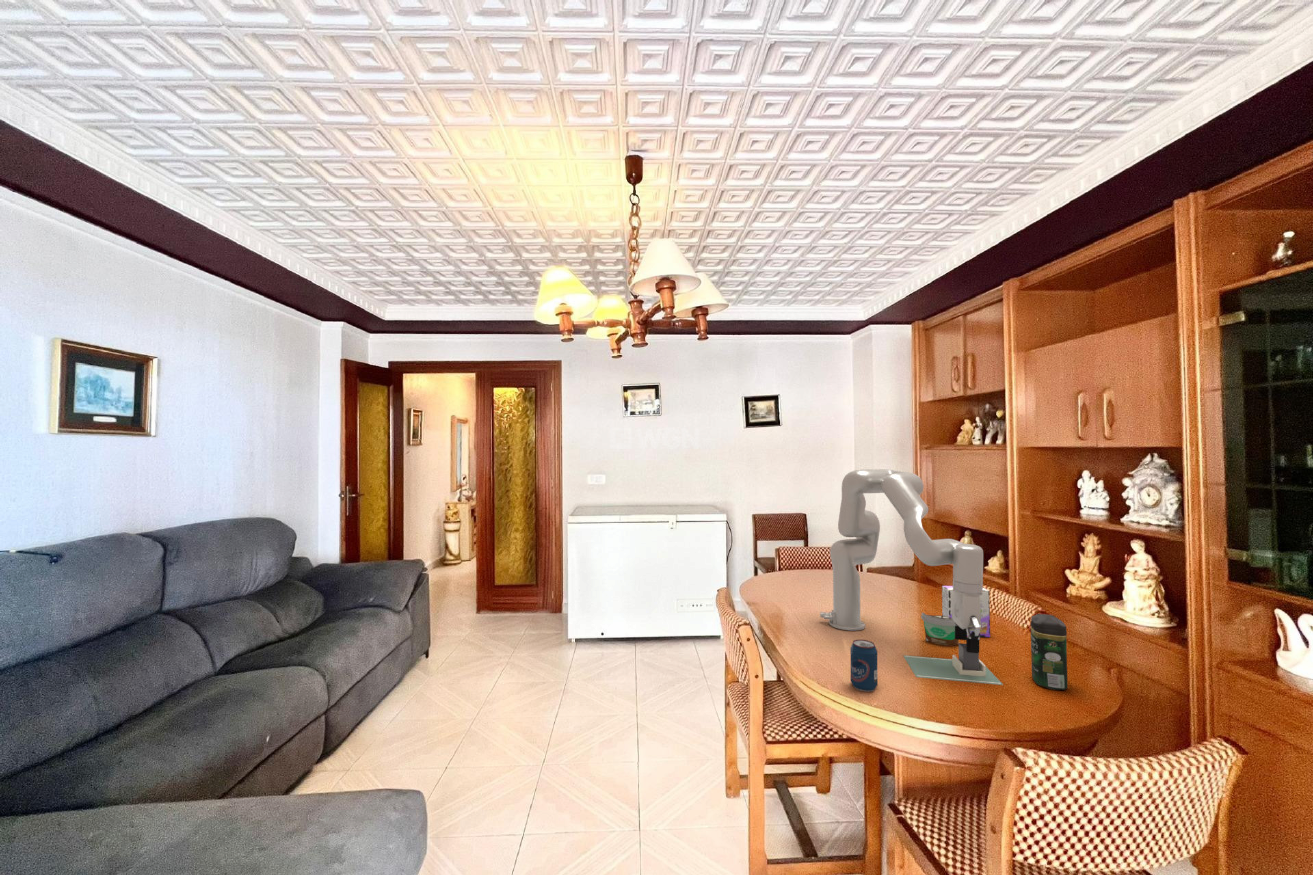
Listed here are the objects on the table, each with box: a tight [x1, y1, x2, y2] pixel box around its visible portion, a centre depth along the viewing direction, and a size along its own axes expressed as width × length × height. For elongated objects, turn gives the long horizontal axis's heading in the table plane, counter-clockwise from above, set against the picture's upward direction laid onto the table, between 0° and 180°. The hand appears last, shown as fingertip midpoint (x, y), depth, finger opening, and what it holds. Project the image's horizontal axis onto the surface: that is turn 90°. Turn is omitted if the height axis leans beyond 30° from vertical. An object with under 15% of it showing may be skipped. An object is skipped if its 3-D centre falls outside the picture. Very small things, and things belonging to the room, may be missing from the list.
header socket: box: [952, 654, 987, 677], centre depth 153 cm, size 7×7×3 cm
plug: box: [958, 642, 980, 671], centre depth 153 cm, size 4×4×7 cm
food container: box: [920, 612, 959, 647], centre depth 175 cm, size 12×6×10 cm, turn 62°
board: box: [902, 654, 1004, 686], centre depth 154 cm, size 22×16×1 cm
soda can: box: [849, 639, 879, 693], centre depth 146 cm, size 7×7×12 cm
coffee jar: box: [1030, 613, 1069, 691], centre depth 148 cm, size 10×8×19 cm
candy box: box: [941, 585, 991, 638], centre depth 187 cm, size 14×6×16 cm, turn 84°
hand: (966, 645), depth 154 cm, fingers open, 9 cm apart
